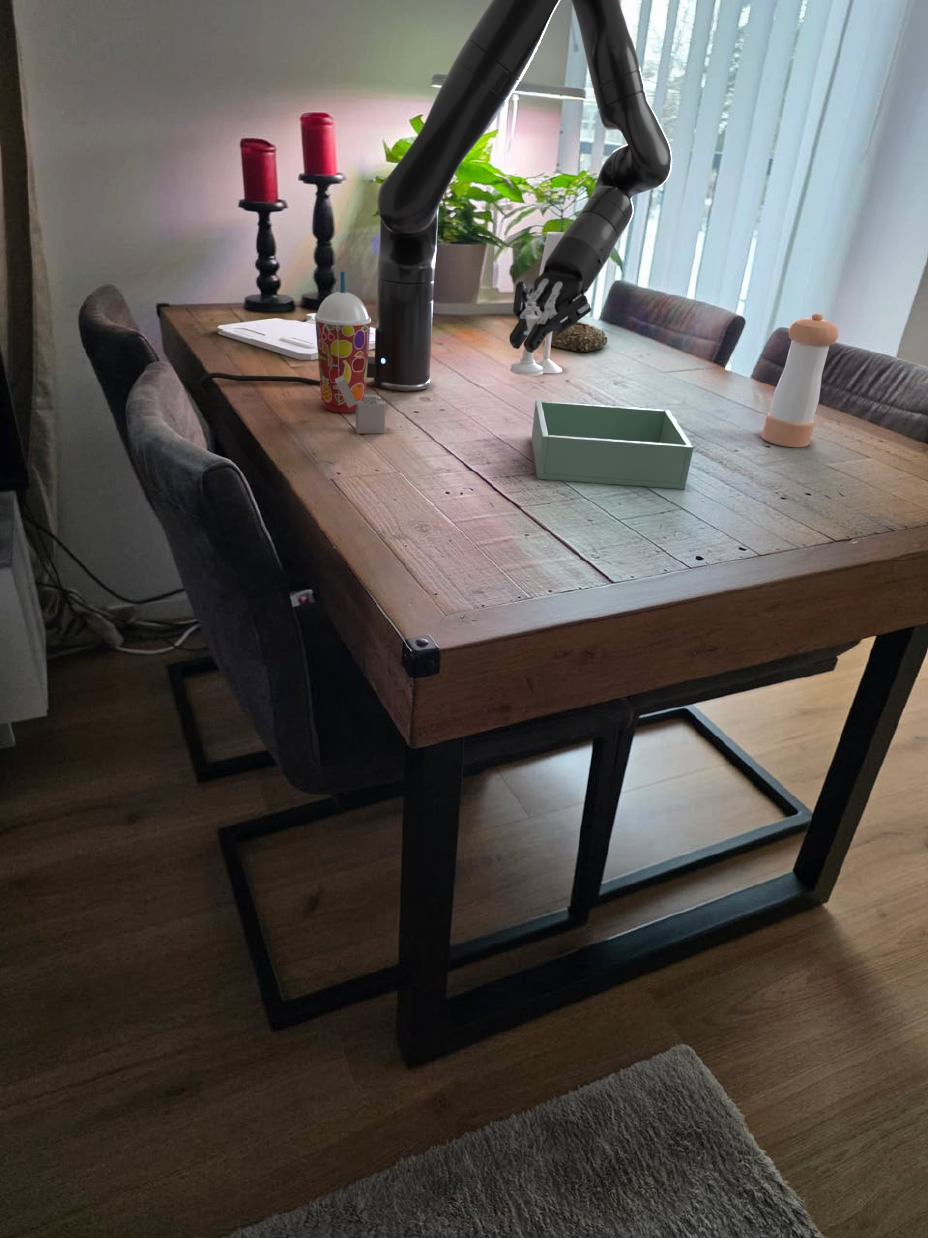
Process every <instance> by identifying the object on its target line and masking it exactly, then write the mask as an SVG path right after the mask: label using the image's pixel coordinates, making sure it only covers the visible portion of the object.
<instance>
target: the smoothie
mask: <svg viewBox="0 0 928 1238" xmlns="http://www.w3.org/2000/svg"><path fill="white" fill-rule="evenodd" d="M315 321H316V336H317V349H318V359H317V360H318V361H317V362H318V373H319V381H320V385H319V386H320V398H321V401H322V402H323V403H324V408H325V409H327V410H328V411H330V412H334V413H340V414H352V413H356V405H354V406H352V407H350V408H349V407H348V405H347V403H346V401H345V399H344V397H343V395H342V393H341V391H340V389H339V387H338V385H337V383H336V381H335V379H336V378H338V377H340V376H342V375H343V376H344V378H345V380H346V382H347V384H348V386H349V388H350V390H351V392H352V395H353V397H354V399H355V401H364V395H367V366H368V356H369V351H370V350H369V337H370V327H371V322H372V317H371V316H370V315H369V312H368V309H367V307H366V305H365V304H364V302H363V301H362V300H361V299H360V298H359V297H358V296H356V295H355V294H353V293H351V292H348V291H346V272H345V271H340V291H336V292H332V293H331V294H329V295H327V296H326V297H325V298H324V299H323V300H322V302H321V303H320V305H319V307H318V310H317V314H315Z"/></svg>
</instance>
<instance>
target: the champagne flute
mask: <svg viewBox="0 0 928 1238" xmlns="http://www.w3.org/2000/svg"><path fill="white" fill-rule="evenodd" d="M564 233H565V232H561V231H547V233H546V237H545V244H544V248H543V252H542V259H541V263H540V268H539V273H538V277H539V276H540V275H541V274H542V273H543V271H544V267H545V263H546V261H547V259H548V258H549V256H550V255H551V253H552V252H553V250H554V248H555V247H556V245H557V244H558V242H559V241H560V239H561V238H562V236H563V235H564ZM551 339H552V332H551V333H550V334H547V335H546V337H545V338H544V347H543V354H542V355H543V356H542V358H541V359H539V360H538V361H535V362H534V363H535V364H538V365H540V366H541V367H542V368H543V370H542V372H543V373H542V374H560V373H562V372H563V369H562V368H561V367H560V366H558V365H557V364H556V363H555V362H554V361H552V360H551V359H550V355H551V348H552V347H551V346H552V345H551Z"/></svg>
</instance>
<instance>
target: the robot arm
mask: <svg viewBox="0 0 928 1238" xmlns="http://www.w3.org/2000/svg"><path fill="white" fill-rule="evenodd" d="M560 1H561V0H491V2H489V4H488V6H487V7H486V9H485V10H484V12H483V14H482V16H480V18H479V20H478V22H477V23H476V25H475V26H474V28H473V29H472V31H471V32H470V34H469V35H468V37H467V39H466V40H465V42H464V44H463V45H462V47H461V49H460V51H459V53H458V54H457V55H456V58H455V60H454V61H453V63H452V65H451V66H450V69H449V70H448V72H447V75H446V76H445V78H444V80H443V82H442V84H441V86H440V88H439V90H438V93H437V95H436V97H435V98H434V101H433V104H432V105H431V108H430V110H429V112H428V115H427V117H426V119H425V121H424V123H423V125H422V127H421V129H420V131H419V133H418V134H417V136H416V138H415V139H414V140H413V142H412V143H411V145H410V146H409V148H408V149H407V151H405V153H404V155H403V156H402V158H401V159H400V160H399V161H398V163H397V164H396V166H395V167H394V168H393V170H392V171H391V172H390V173H389V174H388V175H387V176H386V178H385V179H384V181H383V182H382V183H381V185H380V188H379V189H378V193H377V201H376V204H377V205H376V206H377V212H378V215H379V218H380V220H379V221H380V223H379V225H380V227H379V250H378V258H377V294H376V296H377V298H376V300H377V302H376V328H375V329H376V330H375V349H374V356H369V355H368V366H367V378H369V379H373V380H374V381H373V385H374V386H373V387H375V388H383V389H385V390H389V391H390V390H391V391H396V392H417V391H423V390H427V389H428V388H430V386H431V385H430V384H431V379H430V378H431V357H432V353H431V352H432V335H433V333H432V332H433V315H434V314H433V313H434V292H435V272H436V260H437V243H438V241H437V240H438V225H439V223H438V222H439V207H440V204H441V202H442V200H443V198H444V196H445V194H446V192H447V190H448V187H449V186H450V184H451V182H452V181H453V178H454V176H455V175H456V173H457V171H458V169H459V167H460V166H461V164H462V163H463V161H464V160H465V158H466V157H467V156H468V154H469V153H470V151H471V150H472V149H473V148H474V147H475V146H476V144H478V142H479V141H480V139H481V138H482V137H483V136H484V134H485V133H486V132H487V131H488V129H489V128H490V127H491V126H492V124H493V123H494V121H495V120H496V118H497V117H498V116H499V114H500V113H501V111H502V110H503V108H504V107H505V106H506V104H507V103H508V101H509V99H510V98H511V96H512V94H513V93H514V92H515V90H516V88H517V87H518V85H519V83H520V82H521V80H522V78H523V76H524V74H525V73H526V71H527V69H528V68H529V65H530V63H531V61H532V60H533V58H534V55H535V53H536V52H537V50H538V47H539V45H540V43H541V41H542V39H543V36H544V34H545V32H546V29H547V28H548V24H549V22H550V20H551V18H552V16H553V13H554V12H555V10H556V8H557V6H558V5H559V3H560ZM571 3H572V6H573V9H574V12H575V16H576V19H577V24H578V27H579V32H580V35H581V40H582V44H583V49H584V54H585V60H586V63H587V68H588V72H589V79H590V82H591V86H592V90H593V94H594V97H595V103H596V105H597V109H598V114H599V118H600V120H601V124H602V125H603V127H604V128H605V129H607V130H610V131H615V130H617V131H620V133H621V135H622V136H623V139H624V140H625V142H626V144H625V145H623V146H620V147H618V148H616V149H615V150H614V151H613V152H612V153H611V154H610V155H609V156H608V157H607V158H606V160H605V161H604V163H603V164H602V166H601V169H600V171H599V174H598V176H597V179H596V181H595V184H594V187H593V191H592V194H591V196H590V197H589V199H588V200H587V201H586V203H585V204H584V206H583V207H582V209H581V210H580V212H579V214H578V215H577V217H576V218H575V219H574V220H573V221H572V222H571V223H570V225H569V226H568V227H567V229H566V230H565V232H563V233H564V235H563V236H562V238H561V239H560V241H559V242H558V244H557V245H556V247H555V248H554V250H553V252H552V253H551V255H550V256H549V258H548V259H547V261H546V263H545V267H544V271H543V273H542V274H541V275H540V276H539V275H538V276H537V277H536V278H535V279H534V281H533V282H531V283H528V284H525V283H524V282H523V281H518V282H517V283H516V284H515V292H514V298H513V309H512V313H513V314H514V316H515V317H516V319H517V323H516V325H515V326H514V328H513V330H512V331H511V333H510V334H509V337H508V339H509V344H510V345H511V347H512V348H513V349H516V350H519V349H520V348H521V346H522V345H523V347H524V349H526V350H527V352H530V353H533V354H534V352H535V351H537V350H538V348H540V346H541V345H542V344H543V341H545V337H546V335H547V334H550V333H551V332H553V331H556V332H557V333H562V332H563V331H565V330H566V329H567V328H569V327H570V326H571V325H573V324H574V323H576V322H579V321H580V320H581V319H582V318H584V317H585V316H587V315H588V314H589V313H590V312H592V306H591V304H590V302H589V300H588V298H587V296H586V295H585V294H586V293H587V292H588V291H589V289H590V287H592V285H593V283H594V282H595V280H596V278H597V277H598V275H599V274H600V272H601V271H602V269H603V268H604V266H605V265H606V263H607V262H608V260H609V259H610V257H611V255H612V253H613V251H614V249H615V246H616V245H617V243H618V242H619V240H620V239H621V237H622V235H623V234H624V232H625V231H626V229H627V227H628V225H629V224H630V222H631V220H632V218H633V215H634V204H633V201H632V199H633V197H635V196H636V195H639V194H642V193H645V192H647V191H650V190H654V189H657V188H659V187H661V186H662V185H663V184H665V182H667V180H668V178H669V176H670V174H671V171H672V164H673V162H672V161H673V159H672V149H671V146H670V143H669V141H668V138H667V136H666V134H665V132H664V130H663V128H662V126H661V124H660V122H659V120H658V117H657V116H656V114H655V112H654V110H653V108H652V107H651V105H650V103H649V100H648V98H647V93H646V90H645V89H646V88H645V83H644V80H643V75H642V71H641V66H640V62H639V59H638V54H637V51H636V48H635V45H634V41H633V38H632V36H631V33H630V30H629V28H628V27H629V26H628V25H627V21H626V18H625V16H624V12H623V9H622V7H621V3H620V0H571ZM532 302H536V304H535V307H539V311H535V313H534V314H535V315H537V316H539V320H538V323H537V324H535V326H534V327H533V329H532V330H531V332H530V333H529V335H528V336H527V335H524V334H523V333H524V331H527V330H528V328H527V322H526V315H529V314H531V310H527V308H528V306H532ZM564 319H565V320H564ZM212 379H223V380H229V381H235V382H278V383H279V382H280V383H300V384H305V385H306V384H307V385H310V386H311V385H312V386H320V380H318V379H312V378H308V377H302V376H291V375H290V376H289V375H287V376H286V375H238V374H230V373H226V372H216V371H215V372H210V373H207V374H205V375H203V376H201V378H199V379H198V380H197V382H196V385H204V384H205V383H207V382H208V381H209V380H212Z"/></svg>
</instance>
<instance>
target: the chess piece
mask: <svg viewBox="0 0 928 1238" xmlns="http://www.w3.org/2000/svg"><path fill="white" fill-rule="evenodd" d="M535 304H536V302H532V306H528V308H527V310H531V314H529V315H526V322H527V328H528V330H527V331H524V333H523V334H524V335H527V336H528V335H529V333H530V332H531V330H532V329H533V327H534V326H535V324H538V323H539V316H537V315H535V314H534V313H535V311H539V307H535ZM535 363H536V360H535V359H534V352H533V353H530V352H527V350H526V349H525V348H524V349H523V354H522V357H521V358H520V359H519V361H518V362H513V363H512V364H511V365H510V369H509V371H510V372H511V373H513V374H515V375H518V376H524V377H525V376H527V377H538V376H541V375H542V374H544V373H543V372H542V370H543V368H542V367H541V366H540V365H538V364H535Z"/></svg>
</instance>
